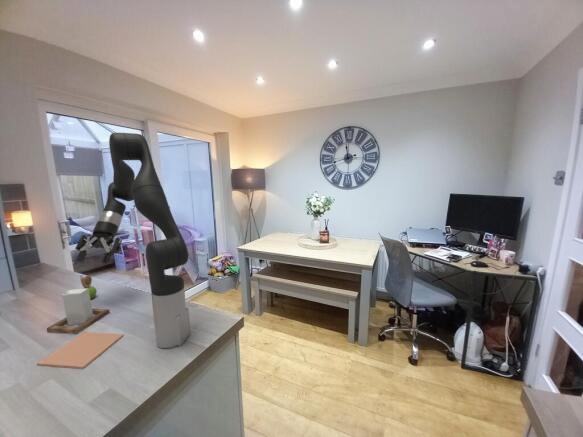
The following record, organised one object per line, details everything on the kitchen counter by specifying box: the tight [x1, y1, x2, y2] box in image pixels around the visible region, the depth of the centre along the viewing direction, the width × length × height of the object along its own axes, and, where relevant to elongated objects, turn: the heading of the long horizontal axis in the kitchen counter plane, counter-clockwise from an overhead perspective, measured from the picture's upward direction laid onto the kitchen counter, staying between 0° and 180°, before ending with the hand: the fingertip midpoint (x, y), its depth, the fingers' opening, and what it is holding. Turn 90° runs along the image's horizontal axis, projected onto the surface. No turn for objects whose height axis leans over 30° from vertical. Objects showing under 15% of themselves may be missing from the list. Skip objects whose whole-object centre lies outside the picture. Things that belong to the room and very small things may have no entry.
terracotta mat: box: [36, 331, 125, 370], centre depth 72 cm, size 14×14×1 cm
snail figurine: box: [79, 274, 98, 300], centre depth 102 cm, size 5×6×12 cm
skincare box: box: [61, 288, 94, 326], centre depth 85 cm, size 6×4×12 cm
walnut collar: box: [46, 308, 110, 335], centre depth 86 cm, size 11×13×2 cm
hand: (92, 262), depth 89 cm, fingers open, 8 cm apart
